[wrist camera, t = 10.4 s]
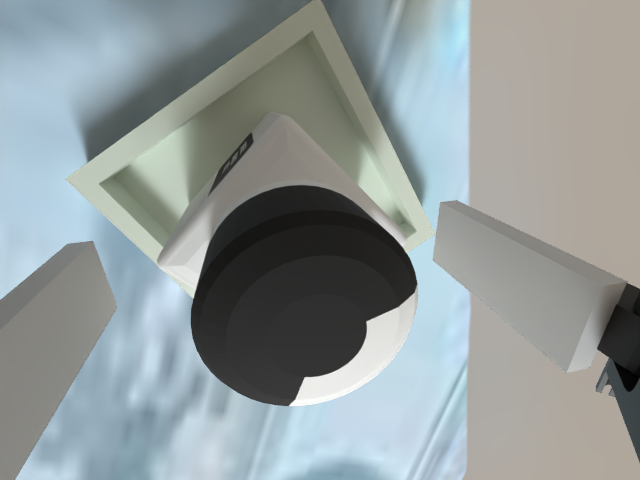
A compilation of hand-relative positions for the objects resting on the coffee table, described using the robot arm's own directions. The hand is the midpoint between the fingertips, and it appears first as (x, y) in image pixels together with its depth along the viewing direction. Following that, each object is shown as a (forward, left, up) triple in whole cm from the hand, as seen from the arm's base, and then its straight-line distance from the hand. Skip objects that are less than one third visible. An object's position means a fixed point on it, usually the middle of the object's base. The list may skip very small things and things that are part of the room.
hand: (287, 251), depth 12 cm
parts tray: (0, 0, -9) cm, 9 cm away
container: (0, 0, -9) cm, 9 cm away
